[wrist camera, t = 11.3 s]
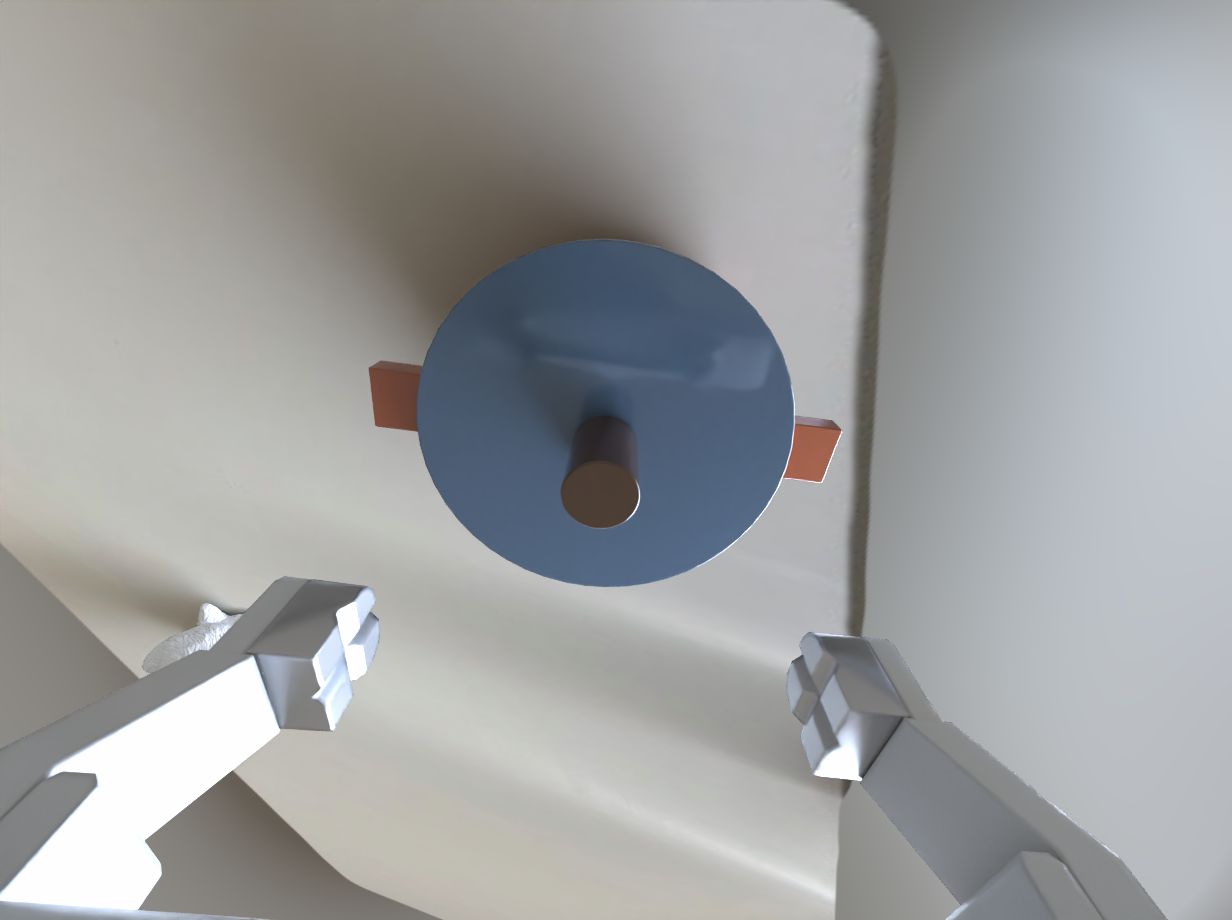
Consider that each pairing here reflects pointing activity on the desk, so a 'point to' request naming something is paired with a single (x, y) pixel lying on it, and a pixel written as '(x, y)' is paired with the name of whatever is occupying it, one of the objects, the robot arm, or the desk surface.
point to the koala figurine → (191, 638)
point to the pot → (399, 411)
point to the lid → (605, 413)
